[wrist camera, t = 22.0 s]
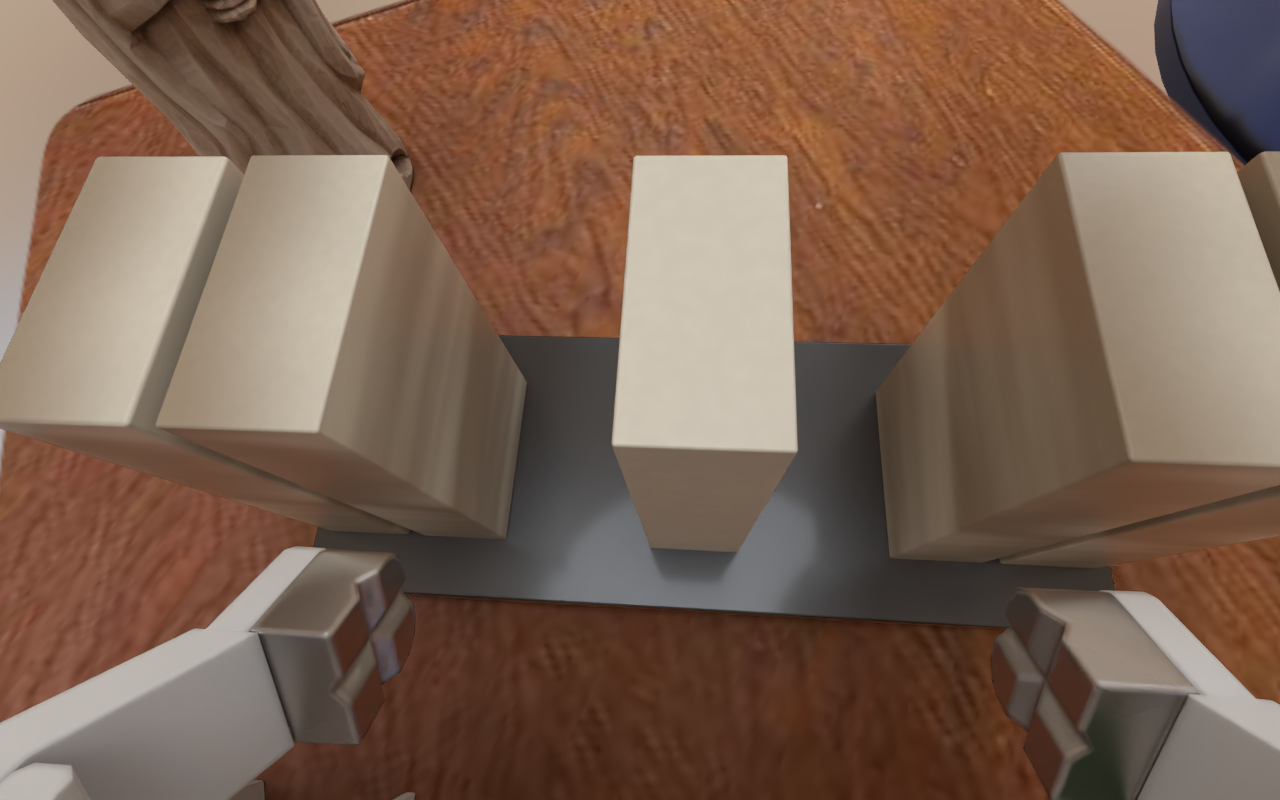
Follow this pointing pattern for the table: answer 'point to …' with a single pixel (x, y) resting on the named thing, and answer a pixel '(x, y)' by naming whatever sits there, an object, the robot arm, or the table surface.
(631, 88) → the table surface
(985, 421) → the book trough
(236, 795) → the brochure
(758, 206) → the cream rectangular block
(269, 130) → the sculpture
